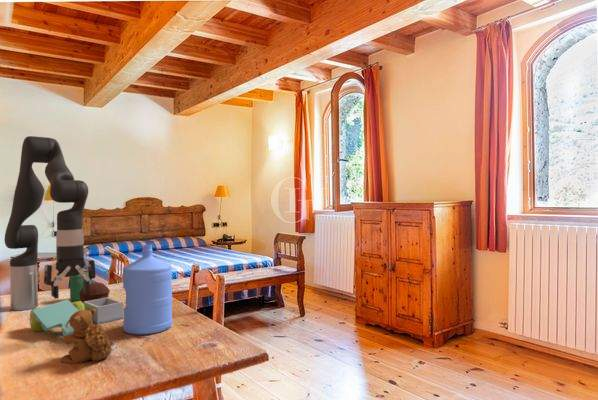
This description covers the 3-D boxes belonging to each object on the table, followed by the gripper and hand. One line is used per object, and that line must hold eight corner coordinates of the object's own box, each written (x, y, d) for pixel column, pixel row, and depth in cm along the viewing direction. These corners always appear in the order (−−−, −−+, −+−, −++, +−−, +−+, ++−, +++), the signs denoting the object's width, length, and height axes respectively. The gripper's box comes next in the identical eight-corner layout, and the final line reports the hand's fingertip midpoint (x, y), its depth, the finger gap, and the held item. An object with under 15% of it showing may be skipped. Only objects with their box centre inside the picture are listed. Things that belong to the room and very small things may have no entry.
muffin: (112, 309, 165) (112, 283, 165) (81, 313, 158) (80, 287, 158) (107, 303, 174) (106, 279, 174) (77, 307, 168) (76, 282, 168)
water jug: (182, 324, 145) (181, 243, 144) (148, 338, 130) (147, 248, 130) (148, 318, 151) (147, 241, 151) (112, 331, 137) (111, 246, 137)
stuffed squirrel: (86, 348, 122) (85, 304, 122) (123, 355, 116) (123, 308, 116) (55, 361, 113) (54, 313, 112) (93, 369, 107) (93, 318, 107)
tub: (83, 318, 153) (83, 301, 153) (108, 312, 160) (108, 297, 159) (97, 324, 145) (97, 307, 145) (123, 318, 152) (122, 302, 152)
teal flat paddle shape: (33, 317, 137) (32, 310, 137) (68, 306, 145) (67, 299, 145) (56, 345, 126) (55, 337, 125) (92, 331, 134) (92, 324, 133)
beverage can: (87, 296, 186) (87, 269, 186) (93, 299, 180) (93, 272, 180) (68, 299, 181) (67, 272, 181) (73, 303, 175) (72, 274, 175)
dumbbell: (32, 334, 136) (32, 312, 136) (28, 328, 142) (28, 307, 142) (87, 323, 147) (87, 303, 147) (81, 318, 153) (80, 299, 153)
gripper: (88, 241, 138) (89, 289, 139) (40, 245, 128) (41, 297, 128) (98, 242, 134) (99, 293, 134) (49, 246, 123) (49, 301, 123)
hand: (70, 295), depth 131 cm, fingers open, 8 cm apart
